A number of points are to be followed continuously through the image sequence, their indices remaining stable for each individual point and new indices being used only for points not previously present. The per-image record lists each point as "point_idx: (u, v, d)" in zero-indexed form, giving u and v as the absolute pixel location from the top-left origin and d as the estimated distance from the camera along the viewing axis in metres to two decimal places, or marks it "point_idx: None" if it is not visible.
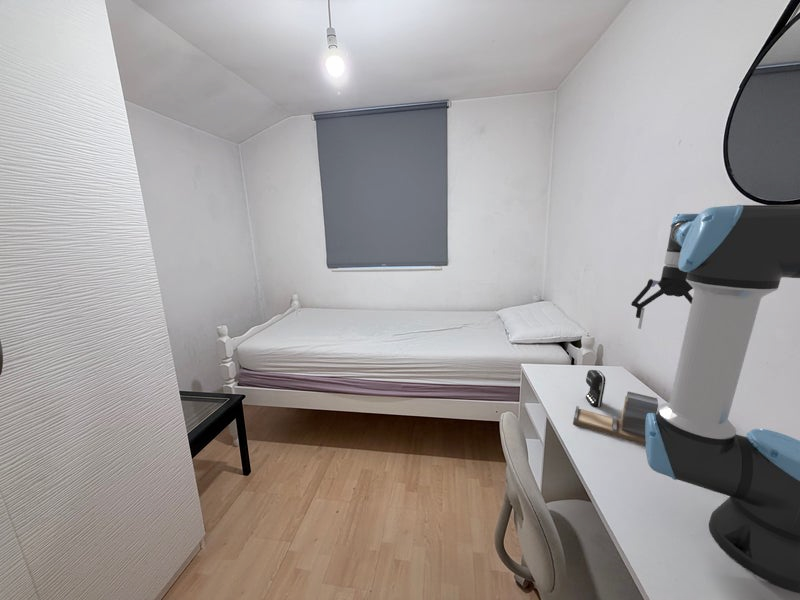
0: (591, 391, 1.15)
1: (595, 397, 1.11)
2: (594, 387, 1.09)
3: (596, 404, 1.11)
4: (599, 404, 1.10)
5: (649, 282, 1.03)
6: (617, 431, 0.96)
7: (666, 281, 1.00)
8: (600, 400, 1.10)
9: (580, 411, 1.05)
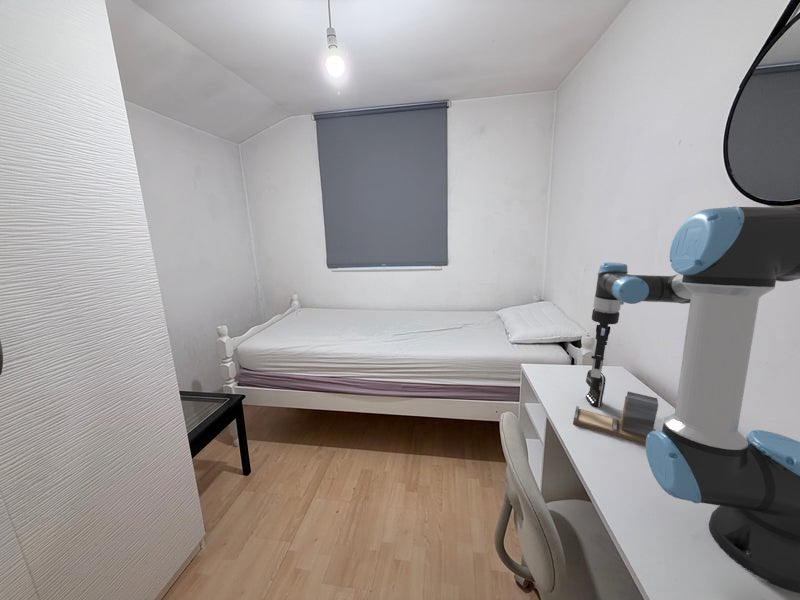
0: (591, 391, 1.15)
1: (595, 397, 1.11)
2: (594, 387, 1.09)
3: (596, 404, 1.11)
4: (599, 404, 1.10)
5: None
6: (617, 431, 0.96)
7: None
8: (600, 400, 1.10)
9: (580, 411, 1.05)
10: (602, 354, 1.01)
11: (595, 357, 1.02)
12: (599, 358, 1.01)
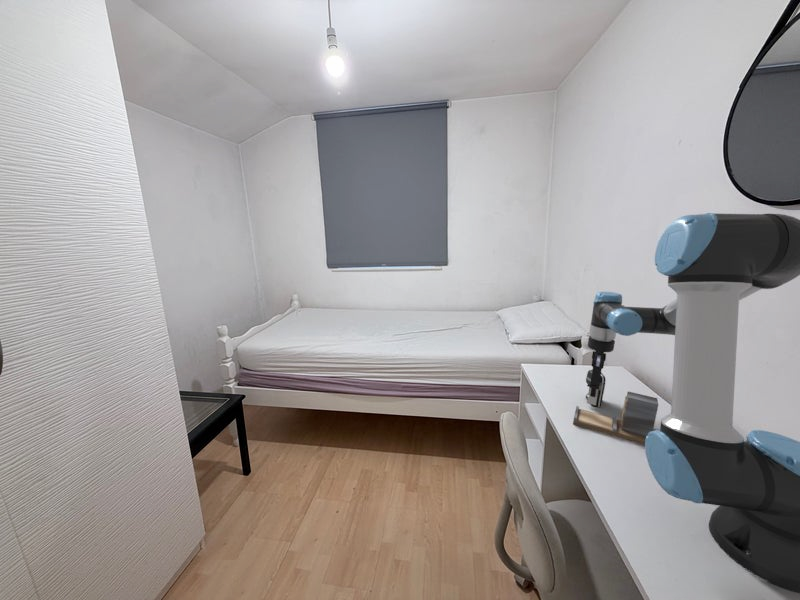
0: None
1: None
2: None
3: (596, 404, 1.11)
4: (599, 404, 1.10)
5: None
6: (617, 431, 0.96)
7: None
8: (600, 400, 1.10)
9: (580, 411, 1.05)
10: (597, 384, 1.06)
11: (591, 386, 1.07)
12: (594, 387, 1.06)
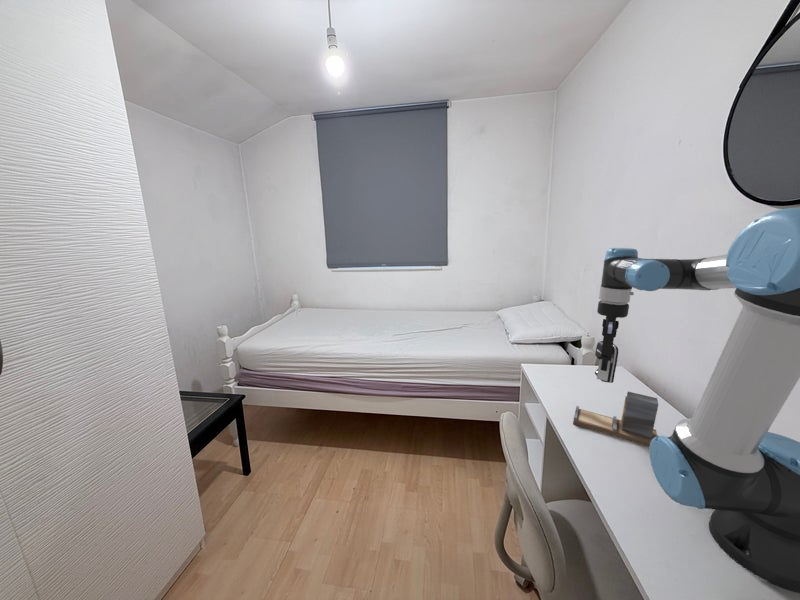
0: None
1: None
2: None
3: (607, 380, 0.96)
4: (611, 380, 0.95)
5: (606, 318, 1.01)
6: (617, 431, 0.96)
7: None
8: (612, 374, 0.95)
9: (580, 411, 1.05)
10: (609, 354, 0.91)
11: (601, 358, 0.92)
12: (606, 359, 0.91)
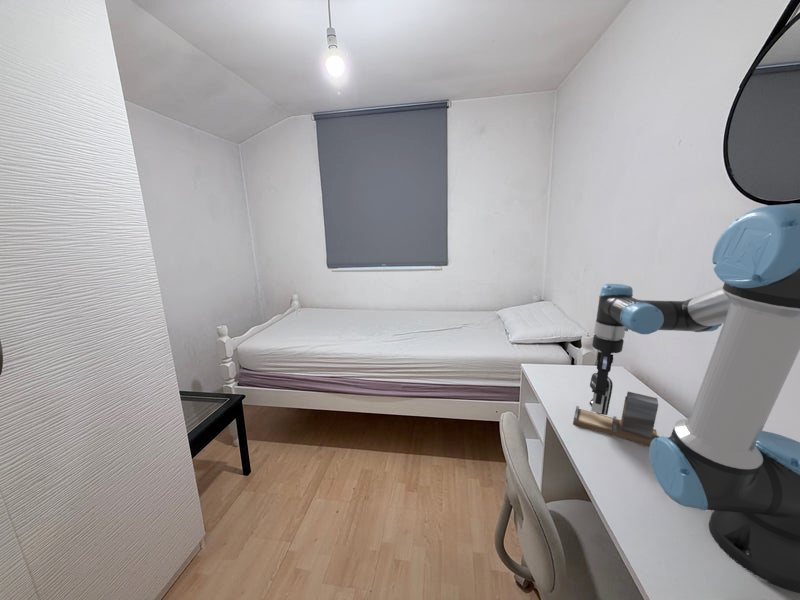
0: None
1: None
2: None
3: (602, 412, 0.97)
4: (605, 412, 0.97)
5: None
6: (617, 431, 0.96)
7: None
8: (606, 407, 0.97)
9: (580, 411, 1.05)
10: (604, 389, 0.92)
11: (596, 392, 0.93)
12: (600, 393, 0.93)
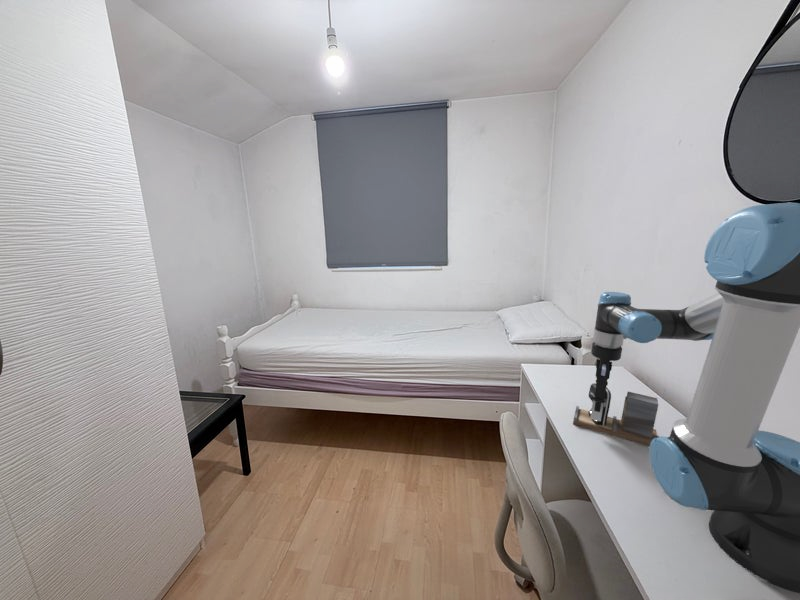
0: None
1: None
2: None
3: (600, 422, 0.98)
4: (604, 422, 0.98)
5: None
6: (617, 431, 0.96)
7: None
8: (605, 418, 0.97)
9: (580, 411, 1.05)
10: (603, 397, 0.91)
11: (595, 399, 0.92)
12: (599, 401, 0.92)
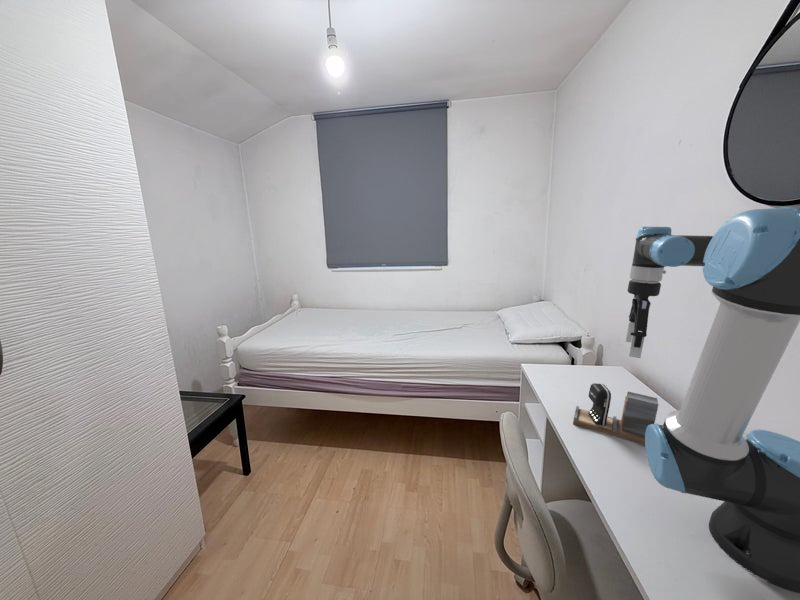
0: (594, 407, 1.02)
1: (599, 414, 0.99)
2: (598, 403, 0.97)
3: (600, 422, 0.98)
4: (604, 422, 0.98)
5: (634, 295, 1.01)
6: (617, 431, 0.96)
7: (636, 295, 0.97)
8: (605, 418, 0.97)
9: (580, 411, 1.05)
10: (645, 329, 0.88)
11: (636, 333, 0.89)
12: (641, 334, 0.88)
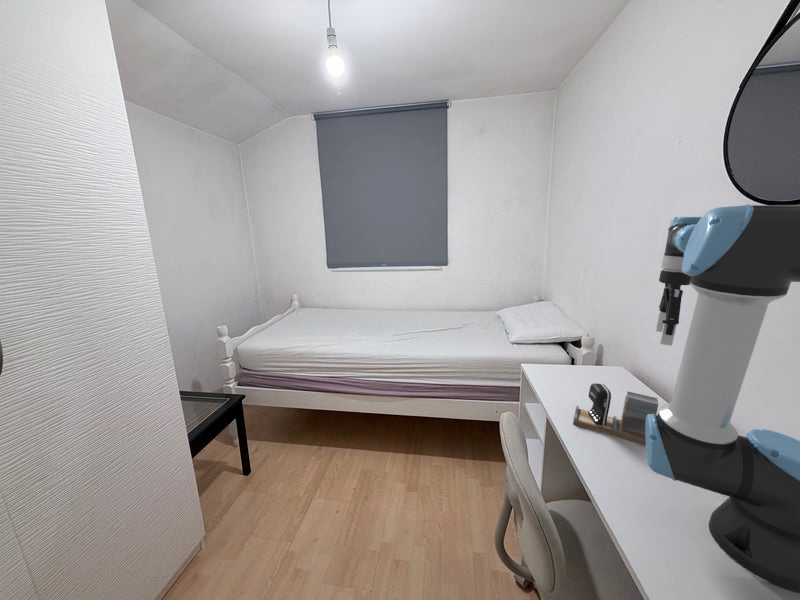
0: (594, 407, 1.02)
1: (599, 414, 0.99)
2: (598, 403, 0.97)
3: (600, 422, 0.98)
4: (604, 422, 0.98)
5: (665, 285, 1.03)
6: (617, 431, 0.96)
7: (668, 284, 0.99)
8: (605, 418, 0.97)
9: (580, 411, 1.05)
10: (677, 317, 0.90)
11: (669, 321, 0.91)
12: (674, 321, 0.91)
